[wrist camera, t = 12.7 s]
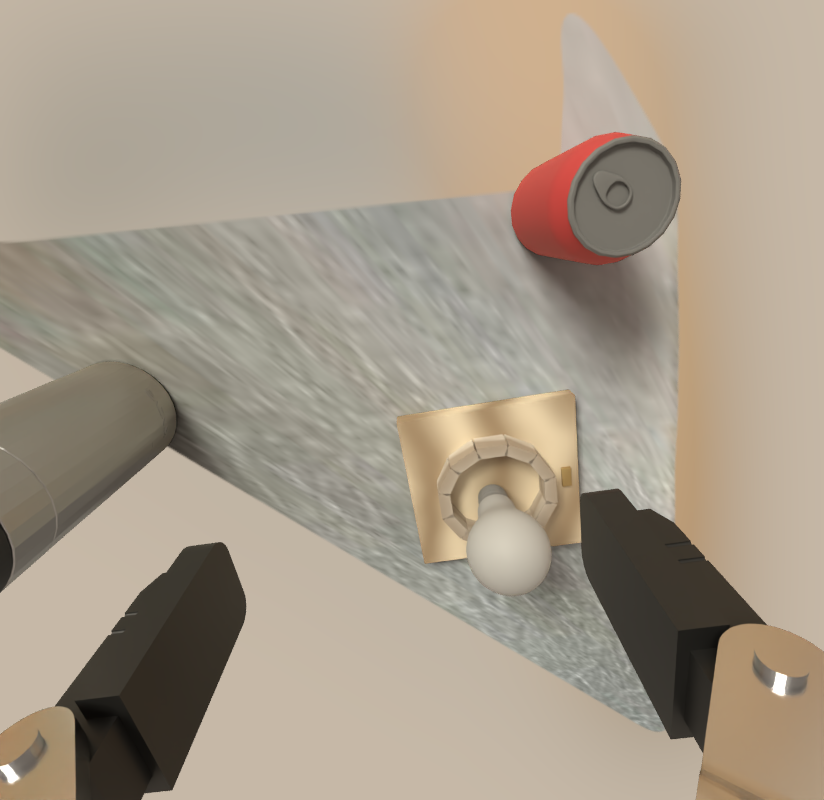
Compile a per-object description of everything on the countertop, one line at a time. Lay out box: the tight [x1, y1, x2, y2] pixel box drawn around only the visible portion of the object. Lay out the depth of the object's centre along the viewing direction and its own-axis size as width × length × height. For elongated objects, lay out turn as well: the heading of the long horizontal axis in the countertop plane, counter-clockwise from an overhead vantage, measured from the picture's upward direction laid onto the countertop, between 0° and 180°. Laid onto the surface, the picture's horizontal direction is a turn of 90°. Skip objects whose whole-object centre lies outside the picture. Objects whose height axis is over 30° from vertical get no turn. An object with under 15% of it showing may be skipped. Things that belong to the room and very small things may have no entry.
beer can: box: [511, 132, 681, 265], centre depth 28 cm, size 7×7×12 cm
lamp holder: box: [397, 390, 581, 564], centre depth 40 cm, size 15×15×4 cm
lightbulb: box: [466, 484, 552, 596], centre depth 35 cm, size 6×6×11 cm
